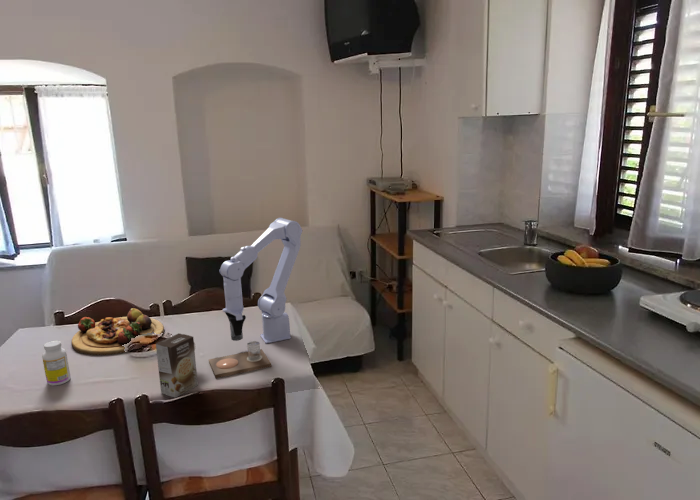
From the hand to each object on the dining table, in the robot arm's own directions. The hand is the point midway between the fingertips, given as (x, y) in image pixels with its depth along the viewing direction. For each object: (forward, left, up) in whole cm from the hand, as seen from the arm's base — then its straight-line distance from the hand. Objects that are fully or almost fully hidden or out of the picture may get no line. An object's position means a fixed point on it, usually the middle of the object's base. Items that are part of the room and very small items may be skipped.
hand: (236, 332), depth 190 cm
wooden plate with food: (+38, -31, -7) cm, 49 cm away
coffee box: (+22, +20, -7) cm, 30 cm away
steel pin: (0, 0, -2) cm, 2 cm away
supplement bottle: (+56, -2, -7) cm, 56 cm away
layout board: (+2, +12, -6) cm, 14 cm away
